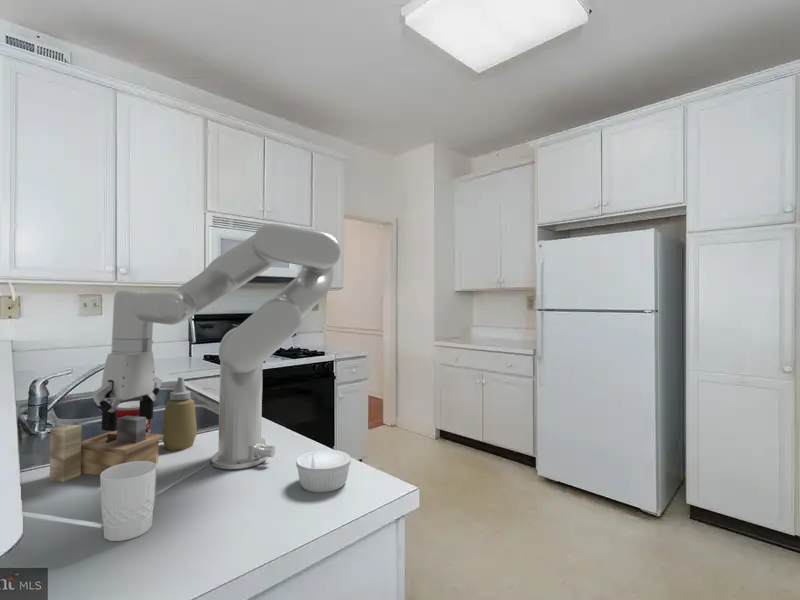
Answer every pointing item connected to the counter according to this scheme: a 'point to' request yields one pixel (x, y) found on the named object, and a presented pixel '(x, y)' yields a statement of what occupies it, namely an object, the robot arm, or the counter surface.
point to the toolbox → (115, 457)
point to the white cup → (127, 499)
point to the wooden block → (65, 453)
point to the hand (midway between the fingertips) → (128, 424)
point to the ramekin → (323, 470)
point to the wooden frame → (123, 437)
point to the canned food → (131, 412)
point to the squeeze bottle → (179, 419)
